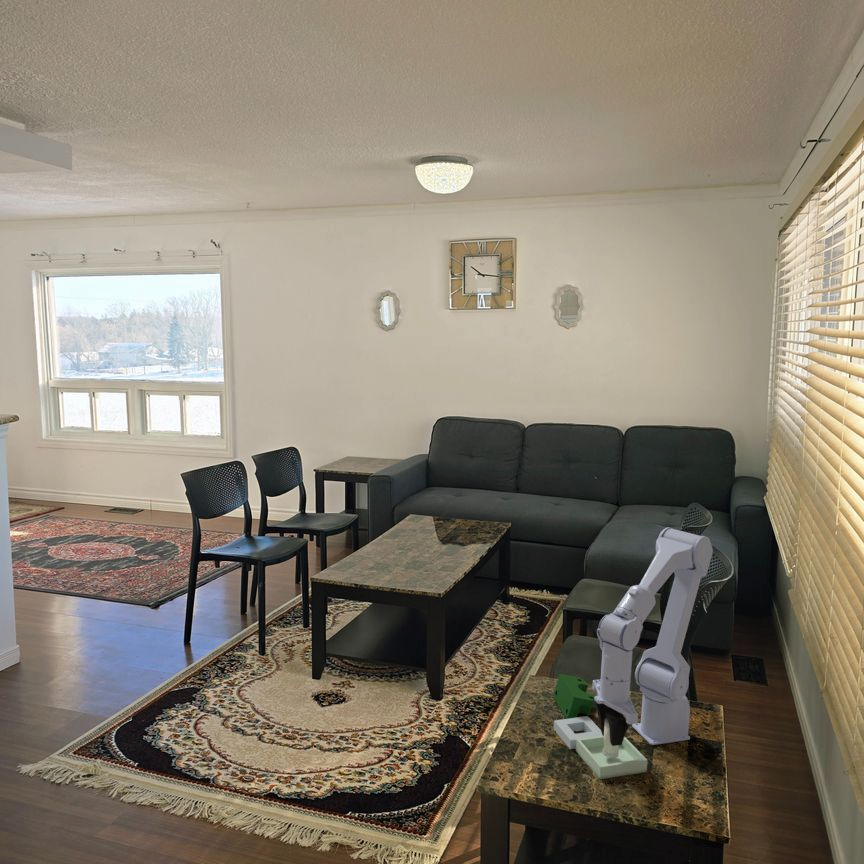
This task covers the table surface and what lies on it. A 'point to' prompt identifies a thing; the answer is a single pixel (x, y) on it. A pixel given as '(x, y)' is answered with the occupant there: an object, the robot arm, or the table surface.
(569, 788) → the table surface
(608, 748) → the cylinder
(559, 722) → the grey square frame
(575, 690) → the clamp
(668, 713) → the robot arm
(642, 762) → the parts tray
